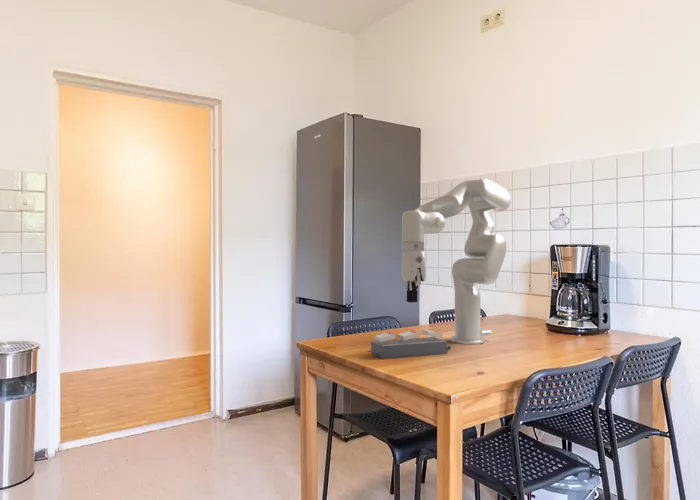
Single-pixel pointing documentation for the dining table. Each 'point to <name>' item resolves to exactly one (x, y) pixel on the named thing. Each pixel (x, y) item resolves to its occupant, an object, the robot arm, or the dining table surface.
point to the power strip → (409, 347)
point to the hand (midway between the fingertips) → (412, 301)
